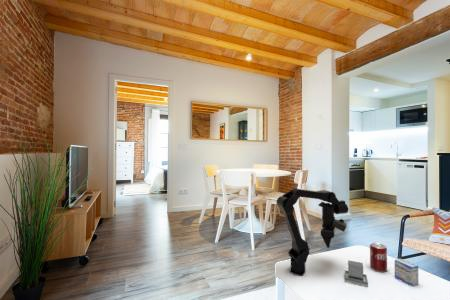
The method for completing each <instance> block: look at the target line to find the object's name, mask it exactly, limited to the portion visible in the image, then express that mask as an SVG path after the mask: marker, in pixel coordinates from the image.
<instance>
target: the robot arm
mask: <svg viewBox="0 0 450 300" xmlns="http://www.w3.org/2000/svg"><path fill="white" fill-rule="evenodd" d="M300 198H305V199H315V200H320V201H321V202H320V203H319V204H317V205H318V206H319V207H320V208H321V210H322V211H321V213H322V214H321V220H322V221H321V222H322V224H321V229H320V236H321V238H322V239H323V242H324V244H325V246H326V248H329V249H330V247H331V241H332V239H334V238H335V229H338V230H339V231H341V232H343V233H344V232H345V230H346V228H347V223H346V222H345V221H344V220H345V219H342V218H340V219H336V217H335V215H341V214H342V215H343V214H347V213H348V212H349V207H348V205H347V203H346V200H339V199H338V198H337V196H336V193H335V192H333V191H329V190H326V189H324V190H322V189H321V190H309V189H303V188H302V189H301V188H297V187H294V188H292V189H290V190H289V191H288V192H286V193H284V194H283V195H280V196H278V198H276V199H277V200H276V205H277V207H278V209H279V210H280V211H281V213H282V214H283V217H284V220H285V222H286V226H287V228H288V231H289V234H290V237H291V240H292V241H291V249H289V250H288V252H287V254H288V256H289V257H290V270H289V273H290V274H295V275H299V276H304V274H305V273H306V263H307V260H308V256H309V254H310V249H311V248H309V243H308V242H307V241H306V240H305V239H303V238H302V236H301V233H300V230H299V227H298V224H297V221H296V218H295V216H294V211H295V210H294V209H295V208H294V205H296V204H297V202H298V200H299V199H300Z"/></svg>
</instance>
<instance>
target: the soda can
mask: <svg viewBox="0 0 450 300" xmlns="http://www.w3.org/2000/svg"><path fill="white" fill-rule="evenodd" d="M369 266H370V268H371V269H372V270H374V271H375V272H378V273H379V272H380V273H385V272H387V271H388V249H387V246H386V245H384V244H382V243H376V242H372V243H370V245H369Z"/></svg>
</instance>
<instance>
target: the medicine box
mask: <svg viewBox="0 0 450 300" xmlns="http://www.w3.org/2000/svg"><path fill="white" fill-rule="evenodd" d="M394 278H395V279H396V280H399V281H401V282H403V283H405V284H407V285H408V286H412V287H414V286H417V285H419V282H420V281H419V265H418V264H414V263H411V262H410V261H408V260H405V259H402V258H397V259H394Z"/></svg>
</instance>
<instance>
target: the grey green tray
mask: <svg viewBox="0 0 450 300" xmlns="http://www.w3.org/2000/svg"><path fill="white" fill-rule="evenodd" d="M367 276H368V274H365V273H363V281H361V280H357V279H352V278H349V277H348V270H344V282H345V283H348V284H353V285H358V286H361V287H366V288H368V287H369V282H368V277H367Z"/></svg>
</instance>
